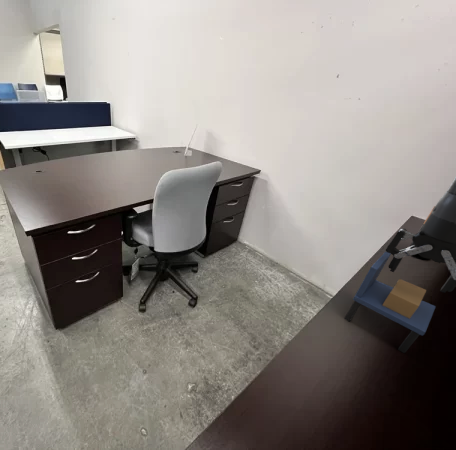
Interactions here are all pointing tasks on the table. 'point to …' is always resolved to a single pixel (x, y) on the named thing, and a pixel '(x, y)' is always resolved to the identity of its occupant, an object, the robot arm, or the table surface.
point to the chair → (374, 298)
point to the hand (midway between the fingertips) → (416, 280)
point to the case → (404, 298)
